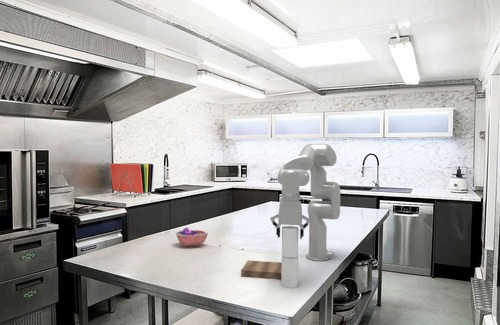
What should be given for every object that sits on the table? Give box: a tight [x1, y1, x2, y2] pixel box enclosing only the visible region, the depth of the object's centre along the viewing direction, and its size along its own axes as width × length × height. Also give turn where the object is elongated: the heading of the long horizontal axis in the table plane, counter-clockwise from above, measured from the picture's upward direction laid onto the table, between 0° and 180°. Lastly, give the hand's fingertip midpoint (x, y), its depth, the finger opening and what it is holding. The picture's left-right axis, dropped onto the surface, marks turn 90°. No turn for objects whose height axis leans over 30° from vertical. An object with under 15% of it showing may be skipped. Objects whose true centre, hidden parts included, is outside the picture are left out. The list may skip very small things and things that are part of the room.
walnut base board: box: [240, 260, 282, 280], centre depth 171 cm, size 22×16×3 cm
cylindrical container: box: [280, 225, 300, 289], centre depth 155 cm, size 7×7×25 cm
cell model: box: [175, 227, 209, 247], centre depth 221 cm, size 17×20×11 cm
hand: (289, 237), depth 155 cm, fingers open, 9 cm apart
